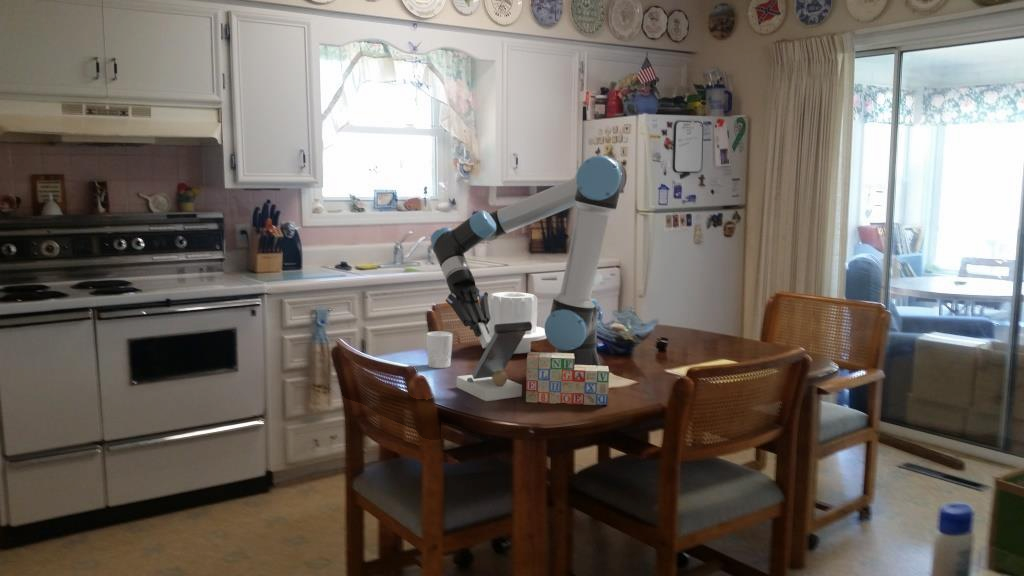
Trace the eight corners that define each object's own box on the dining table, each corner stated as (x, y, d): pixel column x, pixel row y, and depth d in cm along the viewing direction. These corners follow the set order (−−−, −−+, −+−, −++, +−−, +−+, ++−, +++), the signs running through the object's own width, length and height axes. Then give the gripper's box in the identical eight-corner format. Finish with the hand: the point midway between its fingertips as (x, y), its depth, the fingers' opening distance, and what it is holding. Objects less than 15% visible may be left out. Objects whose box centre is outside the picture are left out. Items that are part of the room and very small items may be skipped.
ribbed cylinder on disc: (528, 341, 292) (530, 288, 290) (561, 356, 270) (563, 299, 267) (463, 345, 282) (464, 290, 279) (491, 361, 260) (493, 301, 257)
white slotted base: (456, 387, 227) (457, 362, 226) (490, 382, 232) (491, 358, 232) (486, 401, 213) (486, 374, 212) (521, 396, 219) (522, 370, 218)
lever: (468, 373, 221) (496, 322, 208) (500, 369, 227) (529, 319, 213) (471, 380, 220) (499, 329, 207) (503, 376, 225) (533, 326, 212)
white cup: (448, 369, 247) (448, 337, 245) (422, 367, 248) (423, 335, 247) (455, 364, 254) (455, 332, 253) (430, 362, 256) (431, 330, 254)
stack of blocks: (607, 400, 218) (609, 354, 217) (607, 406, 212) (609, 359, 210) (526, 396, 220) (528, 351, 218) (525, 402, 214) (526, 356, 212)
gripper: (473, 283, 239) (501, 350, 228) (433, 285, 232) (460, 355, 221) (483, 267, 234) (513, 335, 222) (442, 268, 227) (471, 339, 215)
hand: (487, 345), depth 222 cm, fingers closed
